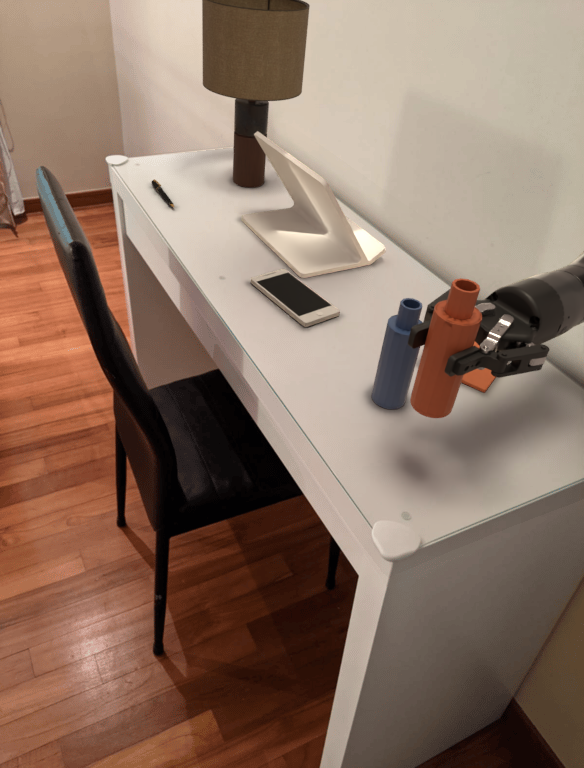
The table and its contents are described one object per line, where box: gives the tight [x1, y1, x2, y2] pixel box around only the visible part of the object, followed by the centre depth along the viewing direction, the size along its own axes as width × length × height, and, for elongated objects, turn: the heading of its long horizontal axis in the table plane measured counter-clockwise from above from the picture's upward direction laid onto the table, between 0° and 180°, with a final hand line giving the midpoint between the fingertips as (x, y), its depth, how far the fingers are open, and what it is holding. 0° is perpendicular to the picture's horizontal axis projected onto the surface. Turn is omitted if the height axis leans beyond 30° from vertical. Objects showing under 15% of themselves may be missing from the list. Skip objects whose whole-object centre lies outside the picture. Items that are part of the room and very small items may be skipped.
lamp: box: [201, 0, 311, 189], centre depth 126 cm, size 20×20×35 cm
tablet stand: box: [240, 131, 387, 279], centre depth 112 cm, size 18×25×17 cm
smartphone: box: [250, 268, 341, 328], centre depth 100 cm, size 7×15×1 cm, turn 37°
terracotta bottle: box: [409, 278, 482, 419], centre depth 63 cm, size 5×5×15 cm
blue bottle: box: [371, 297, 423, 410], centre depth 78 cm, size 5×5×15 cm
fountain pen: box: [151, 179, 175, 208], centre depth 126 cm, size 14×1×2 cm, turn 28°
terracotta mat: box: [461, 342, 497, 393], centre depth 92 cm, size 10×14×1 cm
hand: (430, 352), depth 61 cm, fingers closed on terracotta bottle, 4 cm apart
